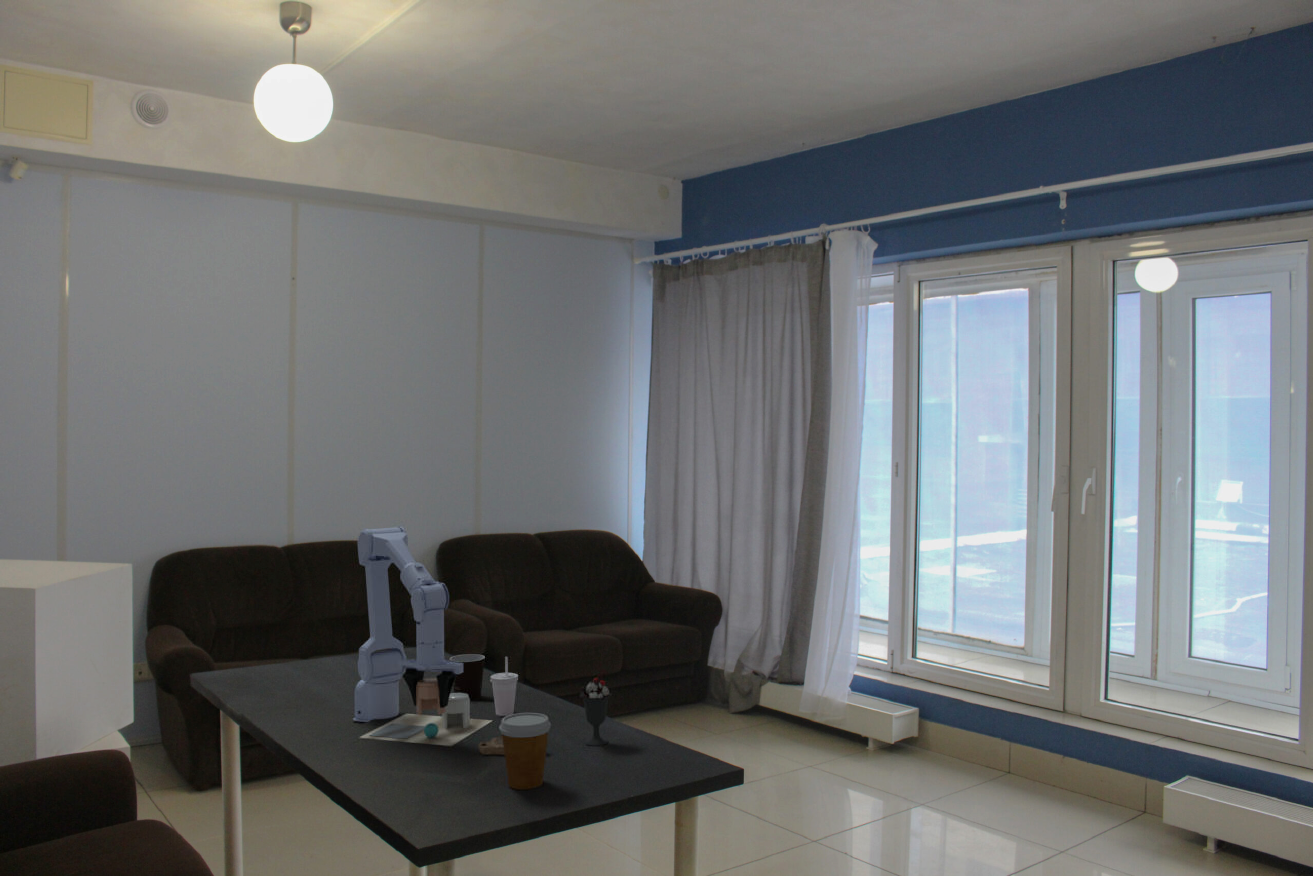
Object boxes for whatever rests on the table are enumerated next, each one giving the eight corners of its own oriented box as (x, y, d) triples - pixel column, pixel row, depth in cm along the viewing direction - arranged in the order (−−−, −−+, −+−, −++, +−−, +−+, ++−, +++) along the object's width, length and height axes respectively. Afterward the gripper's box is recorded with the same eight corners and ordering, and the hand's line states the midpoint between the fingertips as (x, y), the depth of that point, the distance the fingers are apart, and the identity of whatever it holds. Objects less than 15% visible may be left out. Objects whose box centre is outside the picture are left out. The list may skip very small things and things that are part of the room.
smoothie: (513, 722, 222) (512, 660, 222) (486, 721, 223) (485, 659, 224) (522, 714, 228) (522, 654, 229) (496, 713, 230) (495, 653, 230)
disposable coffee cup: (501, 776, 186) (501, 712, 186) (551, 774, 187) (551, 711, 187) (497, 794, 177) (497, 727, 177) (550, 791, 178) (550, 725, 178)
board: (358, 742, 208) (358, 736, 208) (406, 718, 227) (406, 713, 227) (451, 750, 202) (451, 745, 202) (492, 725, 220) (492, 719, 220)
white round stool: (438, 728, 214) (438, 698, 214) (450, 721, 220) (450, 692, 220) (461, 730, 213) (461, 700, 213) (473, 723, 218) (473, 693, 218)
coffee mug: (481, 702, 239) (481, 661, 239) (446, 702, 240) (446, 662, 240) (490, 690, 251) (490, 651, 251) (457, 690, 251) (456, 651, 251)
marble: (421, 739, 207) (421, 724, 207) (428, 735, 210) (428, 721, 210) (433, 740, 206) (433, 725, 206) (441, 736, 209) (440, 722, 209)
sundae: (616, 739, 209) (616, 668, 209) (605, 748, 202) (604, 676, 202) (588, 736, 211) (587, 666, 211) (575, 745, 205) (574, 673, 205)
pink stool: (412, 715, 206) (411, 683, 206) (425, 707, 211) (425, 677, 211) (435, 716, 204) (435, 685, 204) (449, 709, 210) (448, 679, 210)
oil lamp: (480, 764, 194) (479, 738, 194) (476, 752, 201) (476, 728, 201) (545, 758, 197) (545, 733, 197) (540, 747, 204) (540, 723, 205)
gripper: (389, 643, 206) (390, 708, 206) (451, 647, 202) (452, 713, 202) (407, 636, 213) (408, 699, 213) (467, 640, 209) (468, 704, 209)
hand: (430, 705), depth 208 cm, fingers closed on pink stool, 6 cm apart
